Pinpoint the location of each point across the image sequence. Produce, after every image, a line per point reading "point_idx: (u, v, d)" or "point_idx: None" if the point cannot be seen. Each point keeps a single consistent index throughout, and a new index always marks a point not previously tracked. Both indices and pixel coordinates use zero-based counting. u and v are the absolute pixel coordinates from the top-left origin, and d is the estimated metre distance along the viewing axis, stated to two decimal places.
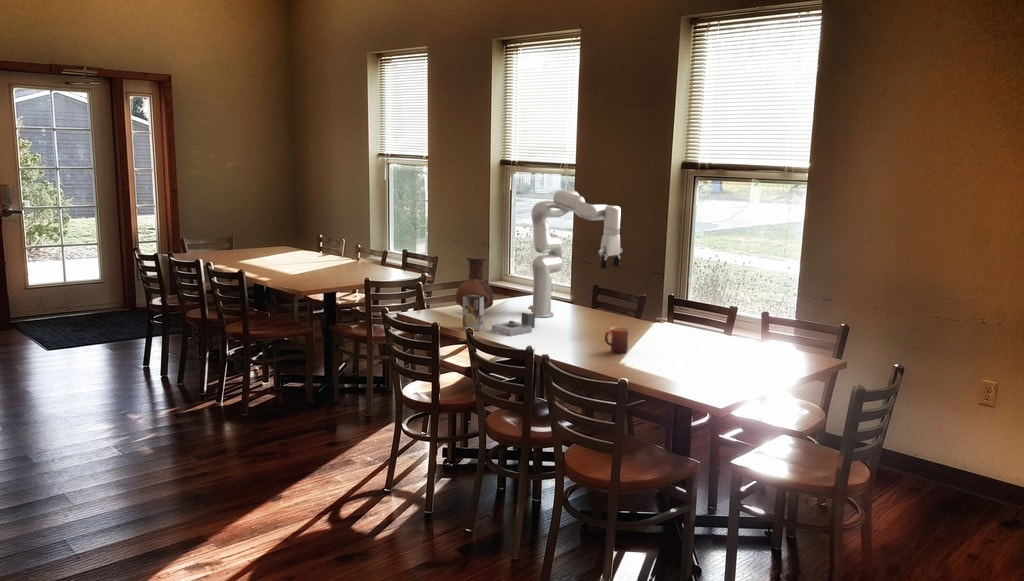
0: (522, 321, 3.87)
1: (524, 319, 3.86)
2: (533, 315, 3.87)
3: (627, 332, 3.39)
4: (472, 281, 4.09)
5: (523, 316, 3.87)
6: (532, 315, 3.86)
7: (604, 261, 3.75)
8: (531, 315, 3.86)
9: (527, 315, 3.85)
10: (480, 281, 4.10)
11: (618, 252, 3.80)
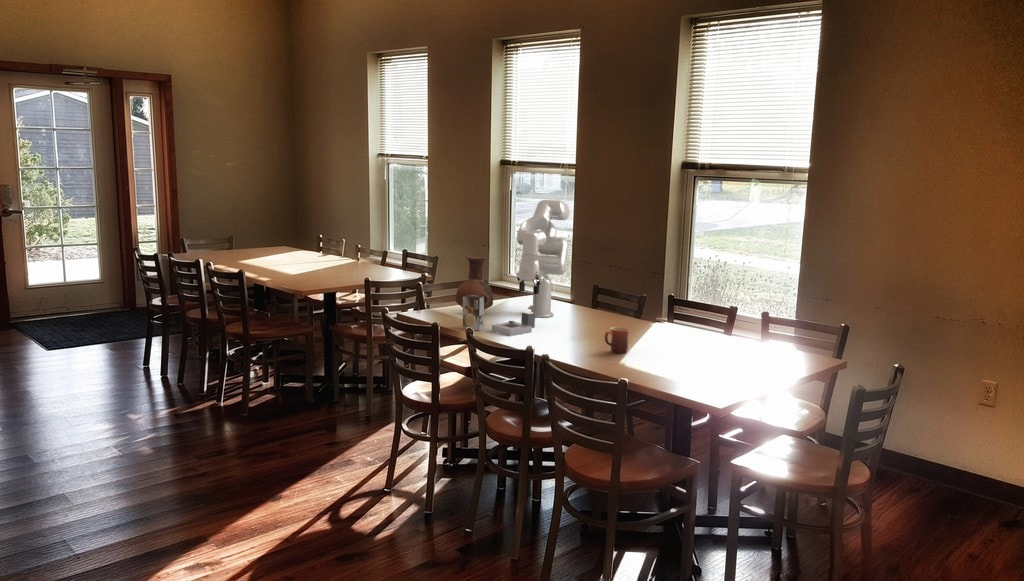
0: (522, 321, 3.87)
1: (524, 319, 3.86)
2: (533, 315, 3.87)
3: (627, 332, 3.39)
4: (472, 281, 4.09)
5: (523, 316, 3.87)
6: (532, 315, 3.86)
7: None
8: (531, 315, 3.86)
9: (527, 315, 3.85)
10: (480, 281, 4.10)
11: None
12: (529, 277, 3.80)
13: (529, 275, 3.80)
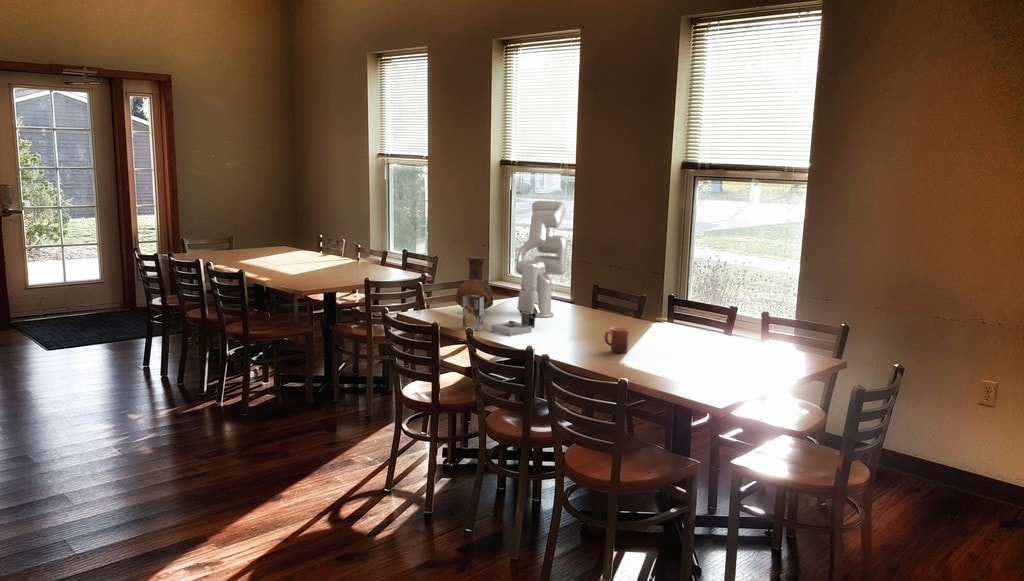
0: (522, 321, 3.87)
1: (524, 319, 3.86)
2: None
3: (627, 332, 3.39)
4: (472, 281, 4.09)
5: (523, 316, 3.87)
6: None
7: None
8: None
9: (527, 315, 3.85)
10: (480, 281, 4.10)
11: None
12: (528, 307, 3.83)
13: (528, 305, 3.83)
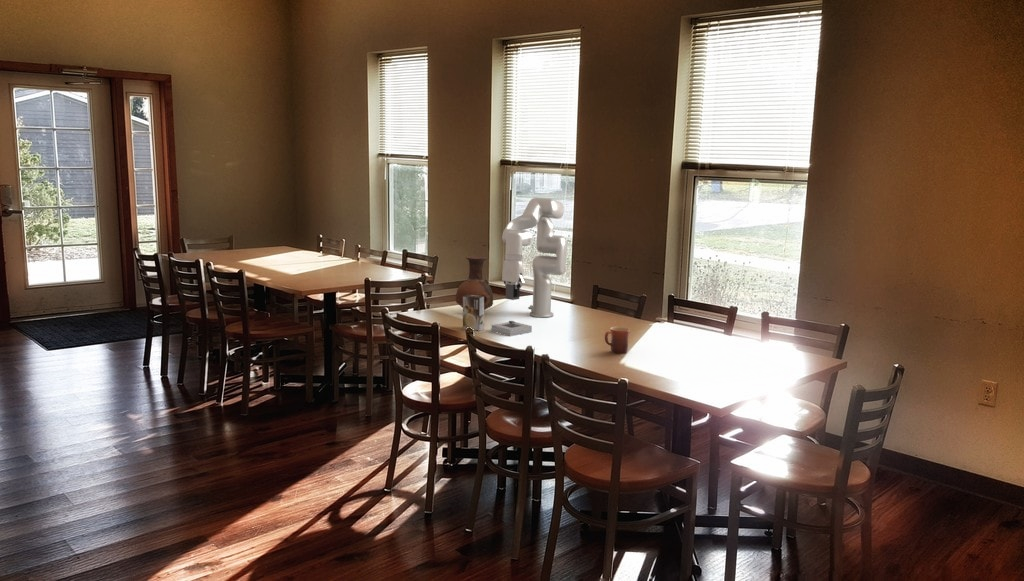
0: (506, 292, 3.74)
1: (508, 290, 3.72)
2: None
3: (627, 332, 3.39)
4: (472, 281, 4.09)
5: (507, 287, 3.73)
6: None
7: (518, 289, 3.72)
8: None
9: (511, 286, 3.71)
10: (480, 281, 4.10)
11: None
12: (513, 278, 3.69)
13: (513, 276, 3.69)
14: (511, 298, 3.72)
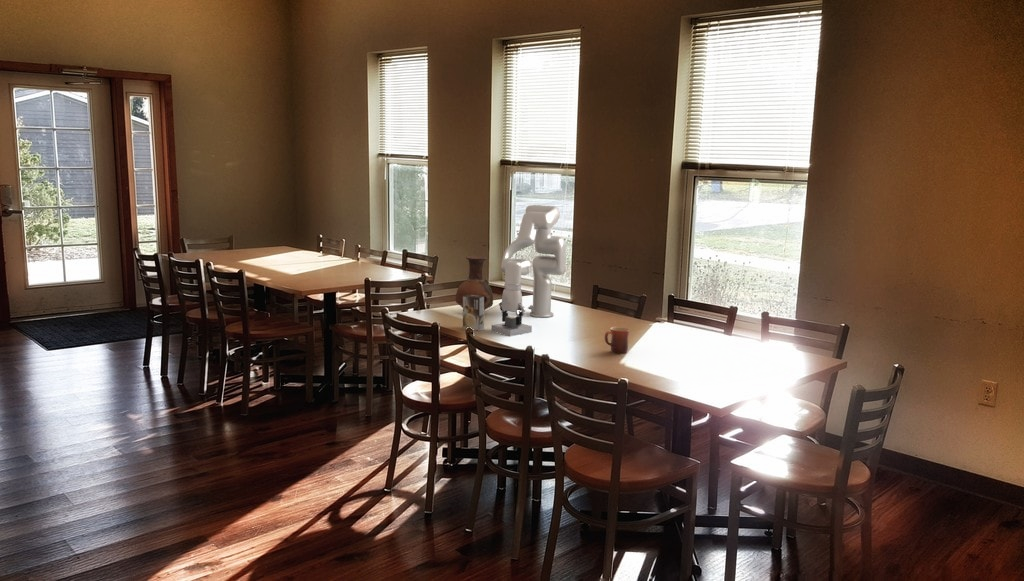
0: (505, 325, 3.76)
1: (507, 323, 3.75)
2: None
3: (627, 332, 3.39)
4: (472, 281, 4.09)
5: (506, 320, 3.76)
6: None
7: None
8: (514, 319, 3.75)
9: (510, 319, 3.74)
10: (480, 281, 4.10)
11: None
12: (512, 307, 3.71)
13: (512, 305, 3.71)
14: None
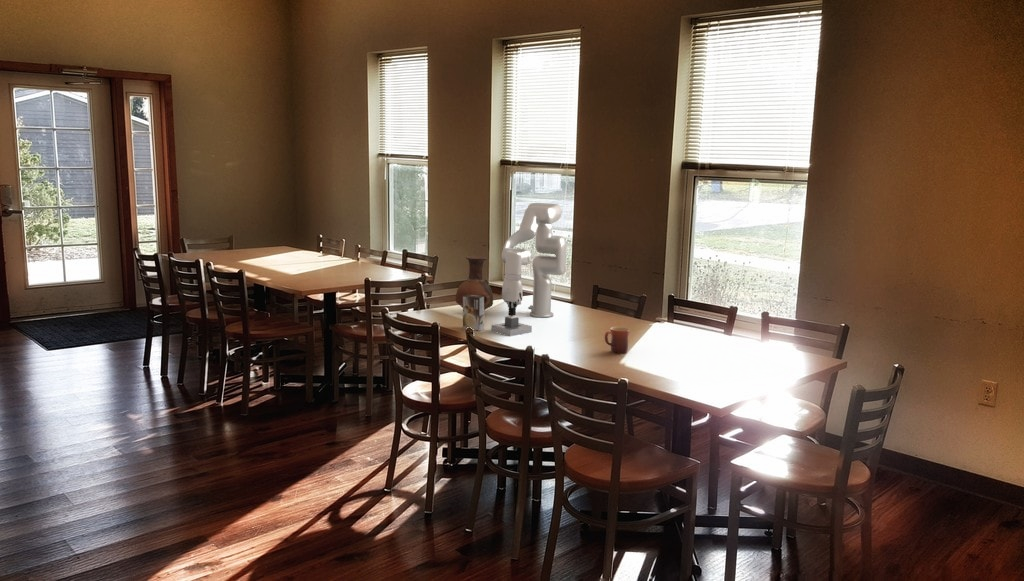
0: (505, 325, 3.76)
1: (507, 323, 3.75)
2: (517, 319, 3.76)
3: (627, 332, 3.39)
4: (472, 281, 4.09)
5: (506, 320, 3.76)
6: (516, 319, 3.75)
7: None
8: (514, 319, 3.75)
9: (510, 319, 3.74)
10: (480, 281, 4.10)
11: None
12: (512, 297, 3.71)
13: (512, 295, 3.70)
14: None
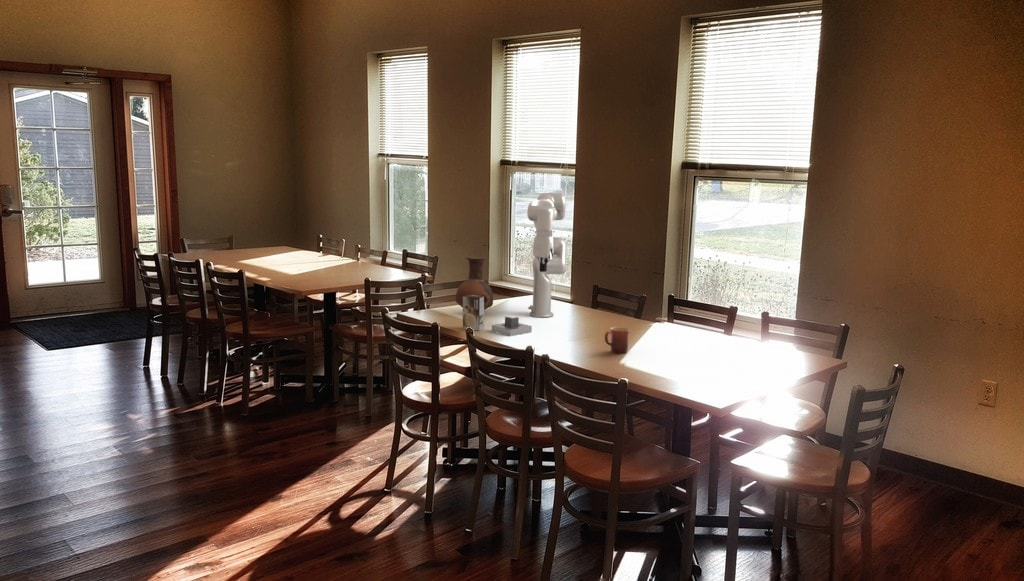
0: (505, 325, 3.76)
1: (507, 323, 3.75)
2: (517, 319, 3.76)
3: (627, 332, 3.39)
4: (472, 281, 4.09)
5: (506, 320, 3.76)
6: (516, 319, 3.75)
7: None
8: (514, 319, 3.75)
9: (510, 319, 3.74)
10: (480, 281, 4.10)
11: None
12: (543, 253, 3.77)
13: (543, 251, 3.77)
14: None
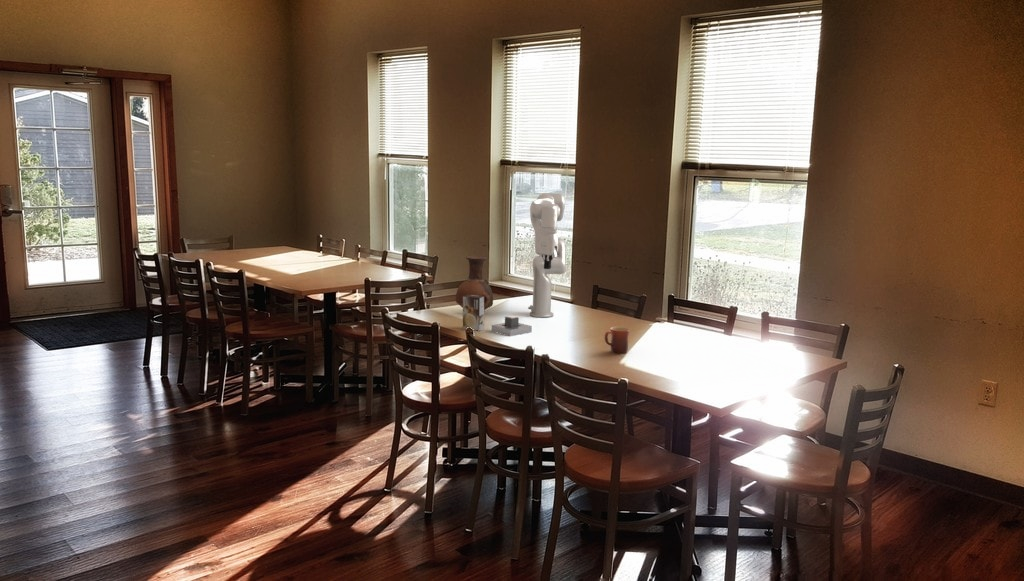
0: (505, 325, 3.76)
1: (507, 323, 3.75)
2: (517, 319, 3.76)
3: (627, 332, 3.39)
4: (472, 281, 4.09)
5: (506, 320, 3.76)
6: (516, 319, 3.75)
7: None
8: (514, 319, 3.75)
9: (510, 319, 3.74)
10: (480, 281, 4.10)
11: None
12: (548, 250, 3.78)
13: (548, 248, 3.78)
14: None
